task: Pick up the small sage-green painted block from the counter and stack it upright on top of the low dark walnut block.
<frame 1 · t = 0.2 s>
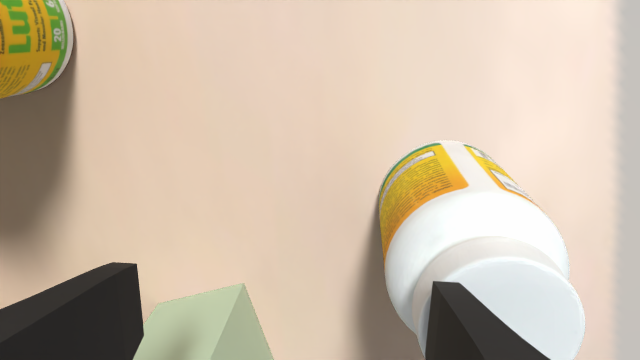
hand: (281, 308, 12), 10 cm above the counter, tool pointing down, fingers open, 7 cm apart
sage block: (217, 331, 24), on the counter
supplement bottle 2: (17, 26, 20), on the counter
supplement bottle: (438, 196, 21), on the counter
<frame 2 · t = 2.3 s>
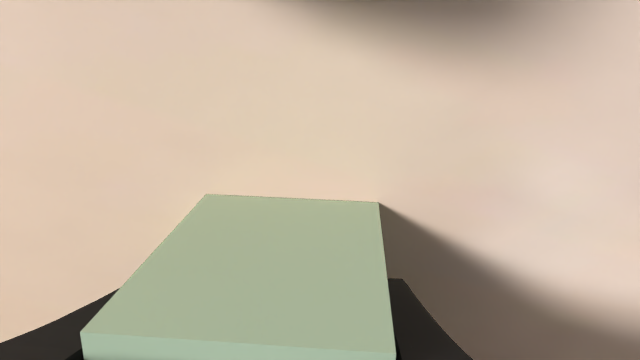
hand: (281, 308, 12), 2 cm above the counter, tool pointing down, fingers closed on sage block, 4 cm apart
sage block: (290, 275, 13), on the counter, touching gripper
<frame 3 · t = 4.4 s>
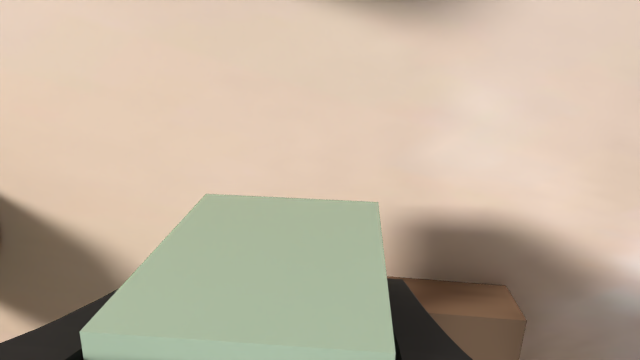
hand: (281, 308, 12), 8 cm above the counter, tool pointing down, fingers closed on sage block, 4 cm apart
sage block: (290, 275, 13), point 7 cm above the counter, touching gripper
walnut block: (388, 359, 22), on the counter
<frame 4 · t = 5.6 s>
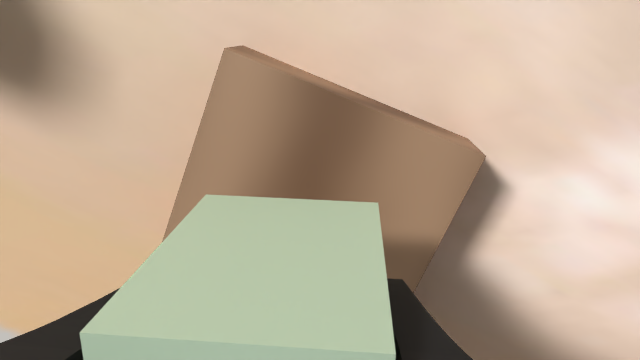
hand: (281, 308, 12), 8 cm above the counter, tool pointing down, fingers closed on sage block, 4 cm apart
sage block: (290, 275, 13), point 6 cm above the counter, touching gripper
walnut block: (313, 195, 19), on the counter
when the fingers open (6 cm above the counter, at t = 6.5 s): sage block drops 2 cm, resting on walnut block.
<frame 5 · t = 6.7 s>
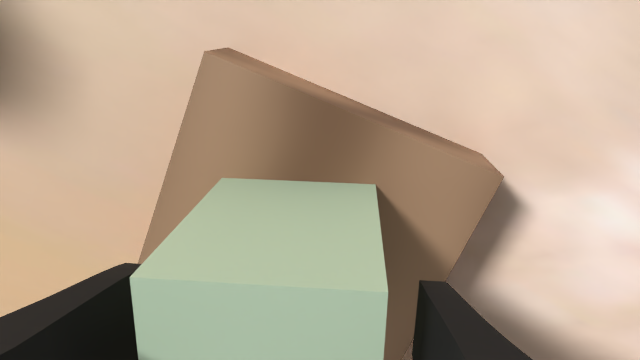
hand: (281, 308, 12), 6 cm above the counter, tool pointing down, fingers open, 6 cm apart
sage block: (297, 251, 15), point 2 cm above the counter, touching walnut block
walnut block: (307, 213, 17), on the counter, touching sage block
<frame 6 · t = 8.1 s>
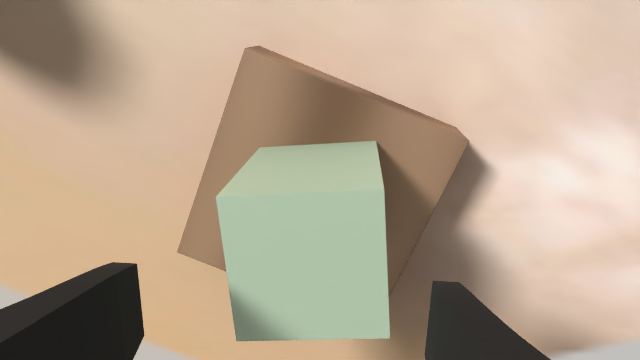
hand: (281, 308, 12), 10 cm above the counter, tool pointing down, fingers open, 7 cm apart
sage block: (321, 199, 19), point 3 cm above the counter
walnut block: (319, 177, 22), on the counter
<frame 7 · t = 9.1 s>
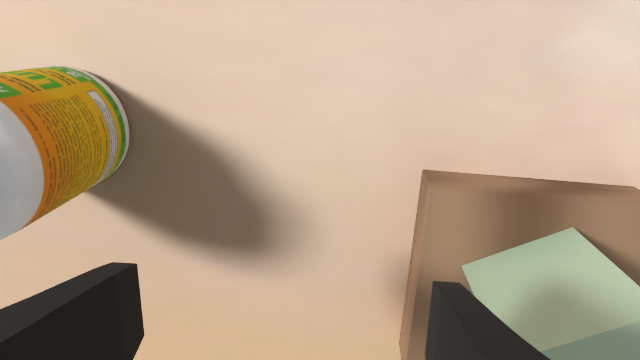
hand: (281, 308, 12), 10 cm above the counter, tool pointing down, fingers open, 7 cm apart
sage block: (532, 293, 20), point 2 cm above the counter, touching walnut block
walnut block: (504, 265, 23), on the counter, touching sage block
supplement bottle 2: (77, 125, 22), on the counter
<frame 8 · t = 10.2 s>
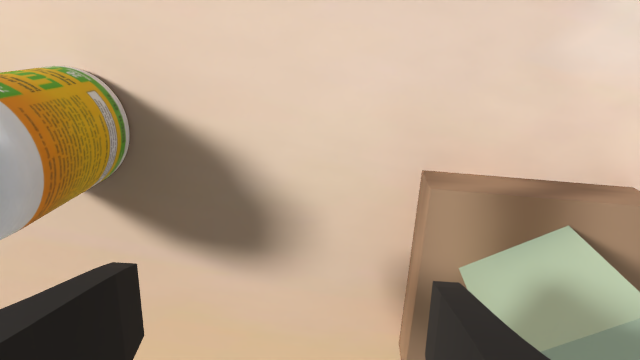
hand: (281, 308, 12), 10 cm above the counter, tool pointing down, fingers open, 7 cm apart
sage block: (531, 293, 20), point 3 cm above the counter, touching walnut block
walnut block: (504, 266, 23), on the counter, touching sage block
supplement bottle 2: (77, 125, 22), on the counter
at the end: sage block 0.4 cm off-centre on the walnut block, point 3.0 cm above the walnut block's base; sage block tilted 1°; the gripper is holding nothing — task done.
